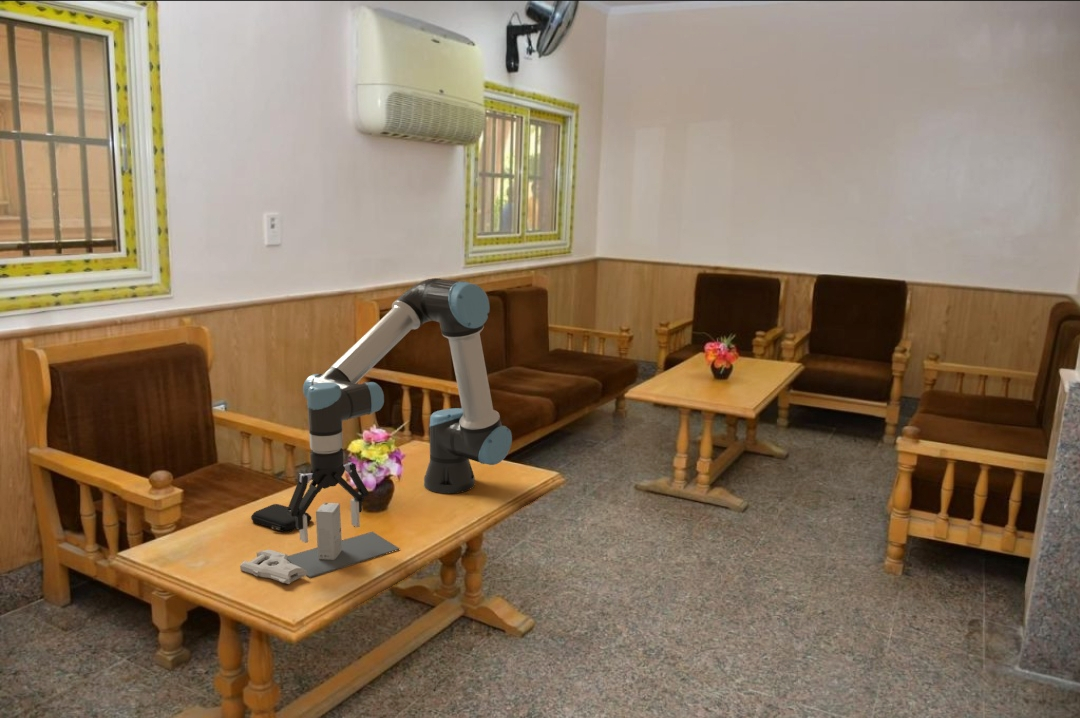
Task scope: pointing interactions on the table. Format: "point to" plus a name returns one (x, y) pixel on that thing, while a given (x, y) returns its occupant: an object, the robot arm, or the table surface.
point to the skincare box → (328, 531)
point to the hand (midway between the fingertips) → (330, 533)
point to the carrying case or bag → (276, 518)
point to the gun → (273, 567)
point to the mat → (343, 554)
